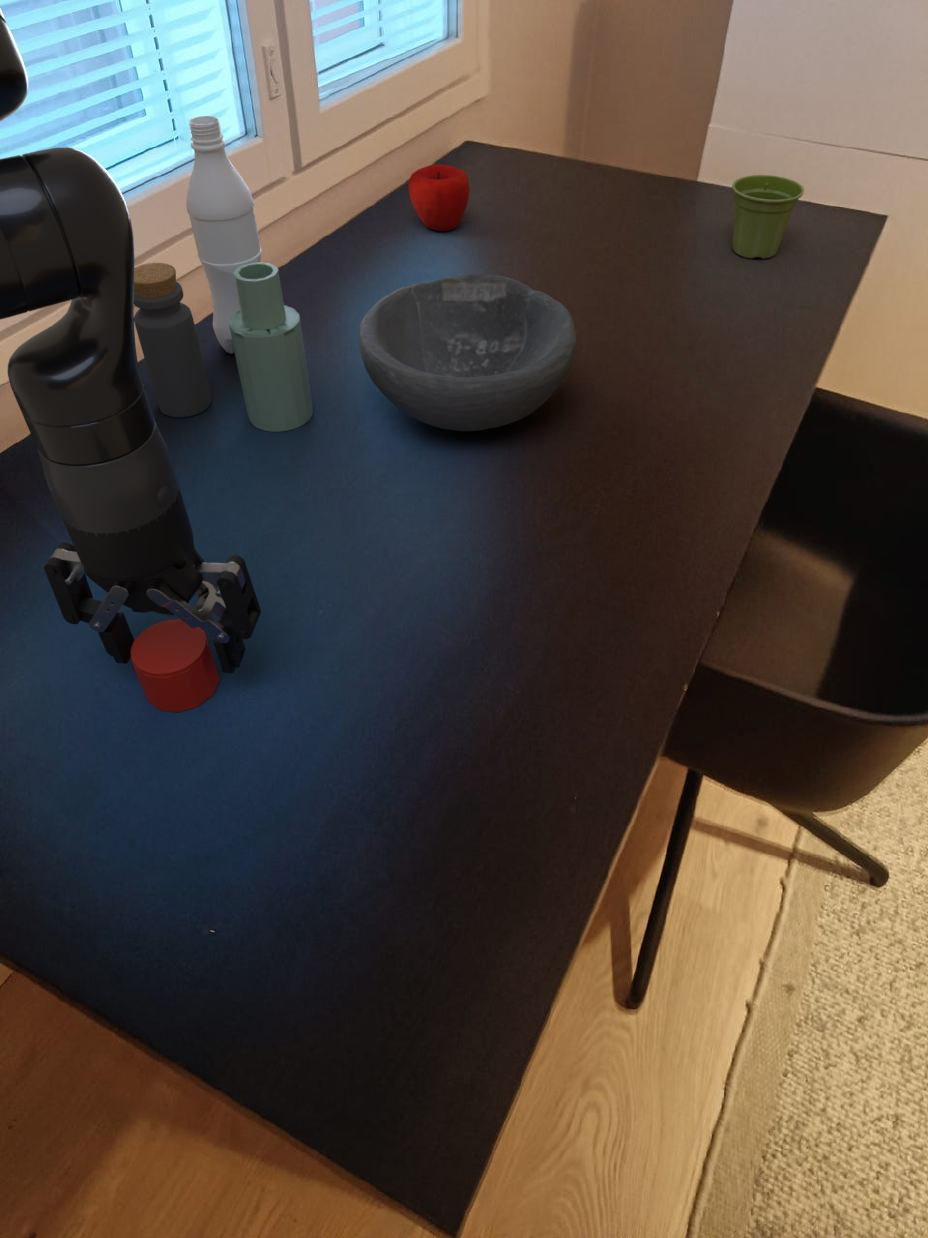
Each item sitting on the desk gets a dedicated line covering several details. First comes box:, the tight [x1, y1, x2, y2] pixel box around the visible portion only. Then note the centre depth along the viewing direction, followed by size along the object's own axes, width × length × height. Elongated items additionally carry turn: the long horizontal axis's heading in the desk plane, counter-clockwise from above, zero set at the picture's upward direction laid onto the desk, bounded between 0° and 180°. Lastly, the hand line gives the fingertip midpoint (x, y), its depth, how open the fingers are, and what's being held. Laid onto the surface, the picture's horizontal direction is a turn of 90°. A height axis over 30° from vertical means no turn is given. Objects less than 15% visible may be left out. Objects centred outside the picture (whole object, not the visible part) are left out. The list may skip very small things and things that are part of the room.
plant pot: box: [731, 174, 805, 260], centre depth 124 cm, size 9×9×9 cm
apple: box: [408, 164, 470, 232], centre depth 131 cm, size 9×9×8 cm
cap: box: [130, 618, 220, 713], centre depth 69 cm, size 6×6×4 cm
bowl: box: [359, 272, 577, 432], centre depth 96 cm, size 23×22×10 cm
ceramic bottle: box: [229, 261, 314, 433], centre depth 92 cm, size 7×7×16 cm
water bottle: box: [185, 115, 263, 355], centre depth 100 cm, size 7×7×25 cm
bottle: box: [134, 262, 213, 418], centre depth 94 cm, size 6×6×15 cm
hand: (179, 660), depth 69 cm, fingers open, 8 cm apart
